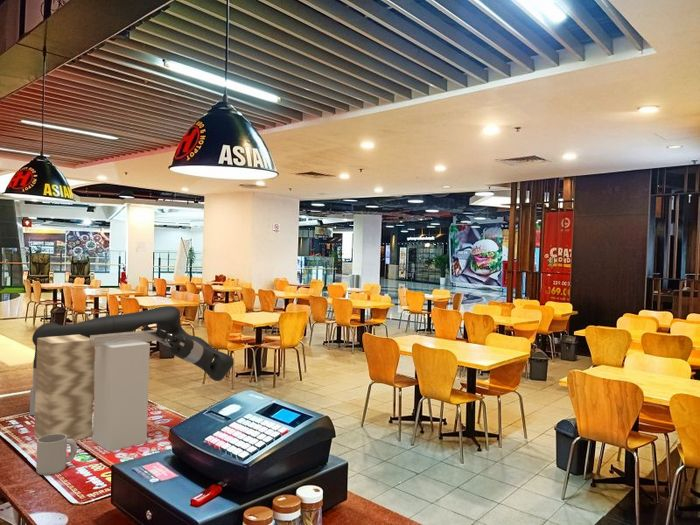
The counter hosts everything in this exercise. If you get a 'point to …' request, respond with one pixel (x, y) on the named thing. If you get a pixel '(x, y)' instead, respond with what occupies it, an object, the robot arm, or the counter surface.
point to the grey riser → (121, 395)
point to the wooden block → (123, 338)
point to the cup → (53, 453)
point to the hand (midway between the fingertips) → (149, 329)
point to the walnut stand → (64, 386)
